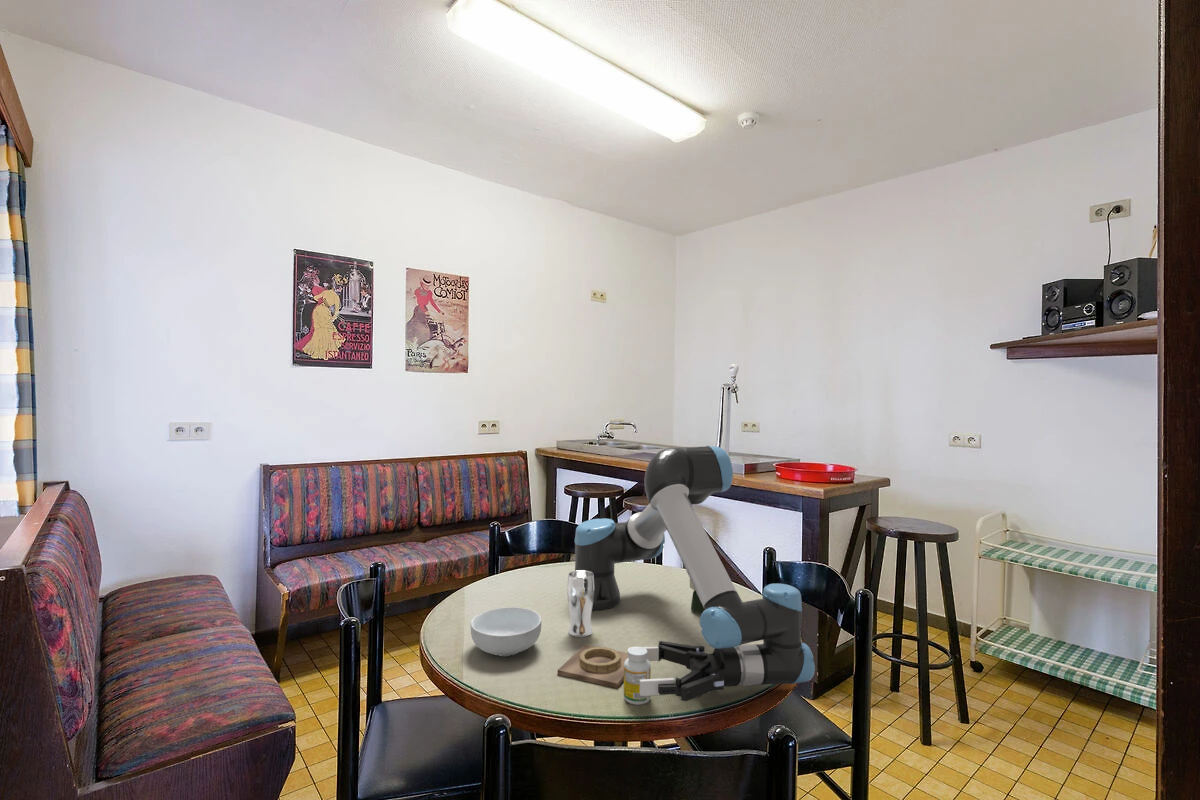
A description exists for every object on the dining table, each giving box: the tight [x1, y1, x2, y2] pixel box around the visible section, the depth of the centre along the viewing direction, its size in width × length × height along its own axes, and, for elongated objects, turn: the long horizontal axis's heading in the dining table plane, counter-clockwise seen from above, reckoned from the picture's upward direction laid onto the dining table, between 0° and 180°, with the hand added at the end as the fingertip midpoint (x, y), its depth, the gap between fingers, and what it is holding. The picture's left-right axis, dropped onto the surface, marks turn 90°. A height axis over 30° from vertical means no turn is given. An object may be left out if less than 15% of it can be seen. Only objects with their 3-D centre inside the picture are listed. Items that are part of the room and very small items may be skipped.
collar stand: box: [557, 644, 628, 689], centre depth 127 cm, size 14×14×2 cm
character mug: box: [689, 578, 705, 615], centre depth 161 cm, size 11×7×13 cm, turn 166°
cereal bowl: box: [470, 606, 542, 657], centre depth 136 cm, size 17×17×7 cm
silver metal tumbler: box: [566, 570, 595, 638], centre depth 146 cm, size 7×7×15 cm
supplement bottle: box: [623, 646, 652, 706], centre depth 114 cm, size 5×5×10 cm
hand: (633, 670), depth 114 cm, fingers open, 13 cm apart
